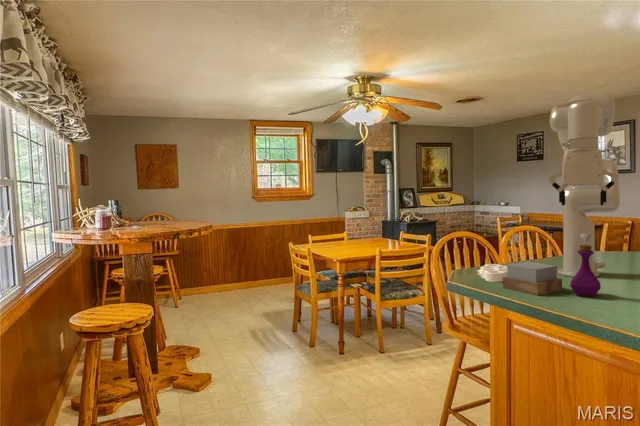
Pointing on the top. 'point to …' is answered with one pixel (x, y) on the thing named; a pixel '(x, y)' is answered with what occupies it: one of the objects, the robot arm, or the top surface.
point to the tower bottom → (532, 286)
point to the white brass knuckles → (493, 272)
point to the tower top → (532, 271)
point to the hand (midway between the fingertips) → (582, 205)
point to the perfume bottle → (585, 273)
